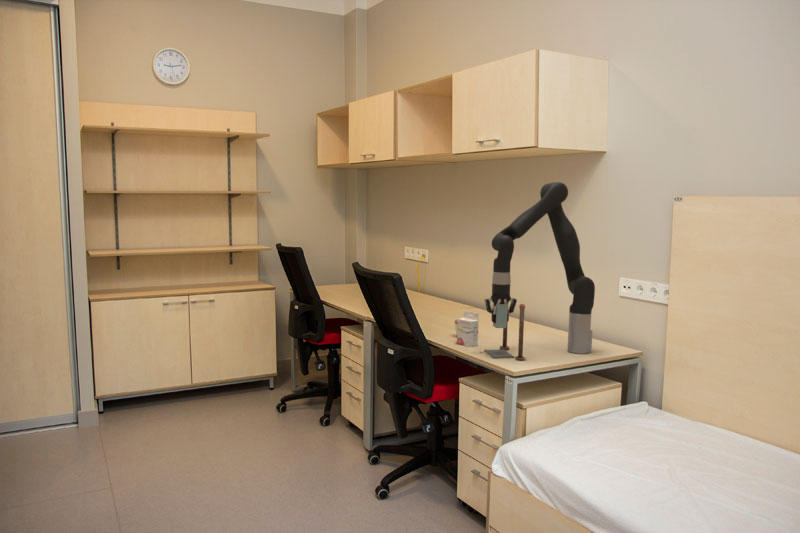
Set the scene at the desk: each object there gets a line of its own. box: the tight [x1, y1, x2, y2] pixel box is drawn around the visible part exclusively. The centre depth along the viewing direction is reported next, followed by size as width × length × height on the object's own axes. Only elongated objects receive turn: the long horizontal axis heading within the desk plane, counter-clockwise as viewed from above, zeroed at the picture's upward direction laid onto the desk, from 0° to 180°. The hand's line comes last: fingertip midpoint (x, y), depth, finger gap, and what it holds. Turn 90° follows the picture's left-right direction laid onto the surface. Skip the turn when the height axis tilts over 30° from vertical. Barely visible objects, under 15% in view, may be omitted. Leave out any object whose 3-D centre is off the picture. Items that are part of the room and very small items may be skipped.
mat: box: [483, 349, 515, 359], centre depth 255 cm, size 9×12×1 cm
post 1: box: [499, 321, 510, 351], centre depth 264 cm, size 4×4×23 cm
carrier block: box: [492, 303, 509, 329], centre depth 253 cm, size 4×4×10 cm
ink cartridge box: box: [456, 310, 479, 348], centre depth 271 cm, size 9×5×15 cm, turn 48°
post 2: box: [514, 303, 526, 362], centre depth 246 cm, size 4×4×23 cm
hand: (499, 322), depth 253 cm, fingers closed on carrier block, 4 cm apart
